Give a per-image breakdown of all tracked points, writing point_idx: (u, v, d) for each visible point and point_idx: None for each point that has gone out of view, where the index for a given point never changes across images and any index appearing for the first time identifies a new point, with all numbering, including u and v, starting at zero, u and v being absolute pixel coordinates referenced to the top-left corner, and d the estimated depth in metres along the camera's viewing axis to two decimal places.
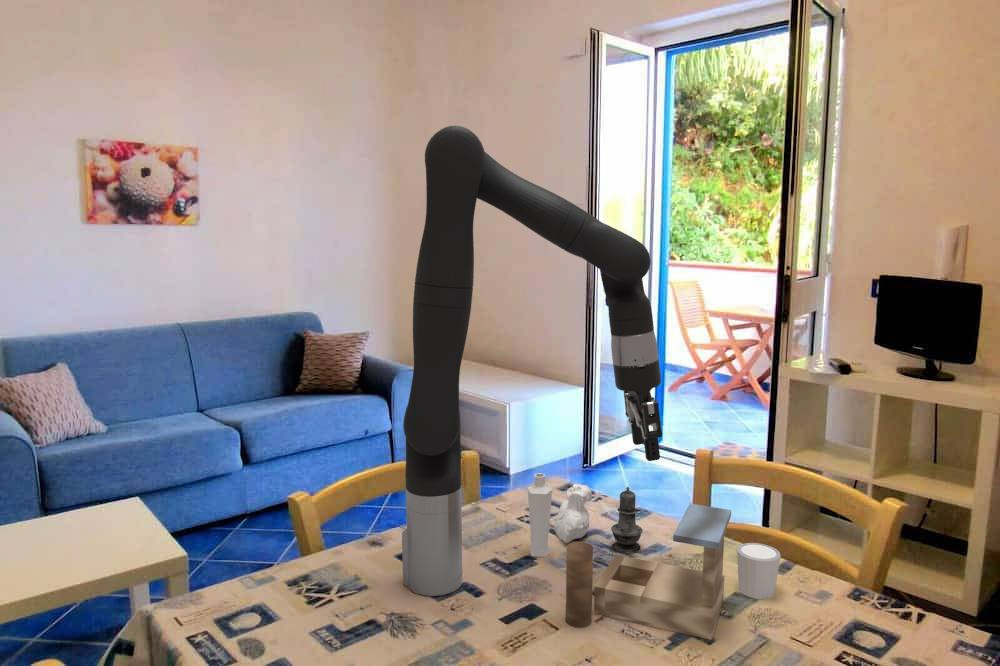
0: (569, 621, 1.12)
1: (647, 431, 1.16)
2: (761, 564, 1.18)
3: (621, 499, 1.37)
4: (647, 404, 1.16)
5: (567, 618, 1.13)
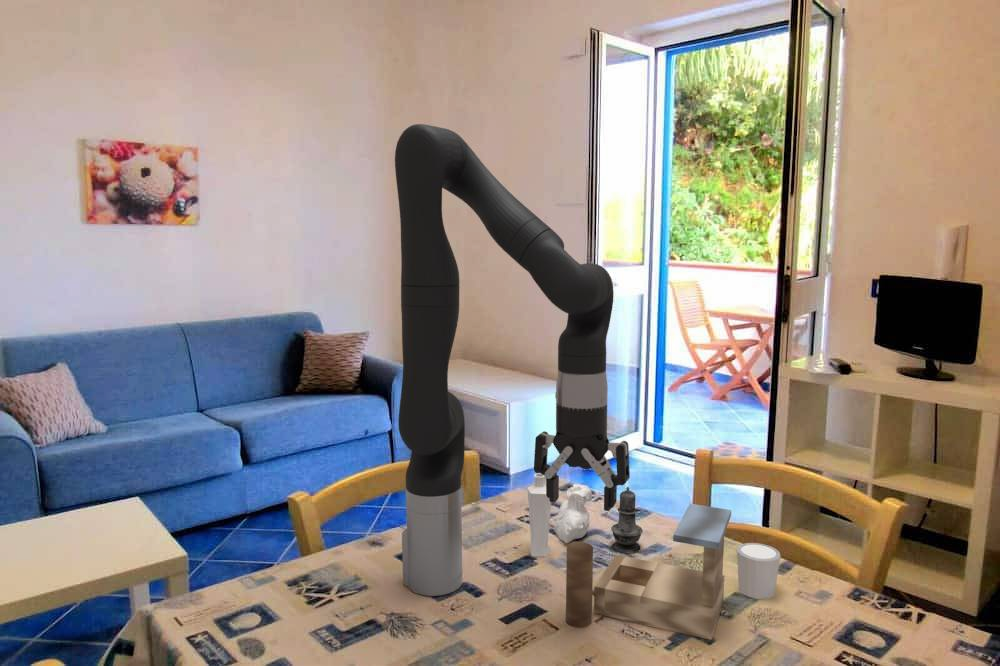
0: (569, 621, 1.12)
1: None
2: (761, 564, 1.18)
3: (621, 499, 1.37)
4: (540, 433, 1.12)
5: (567, 618, 1.13)
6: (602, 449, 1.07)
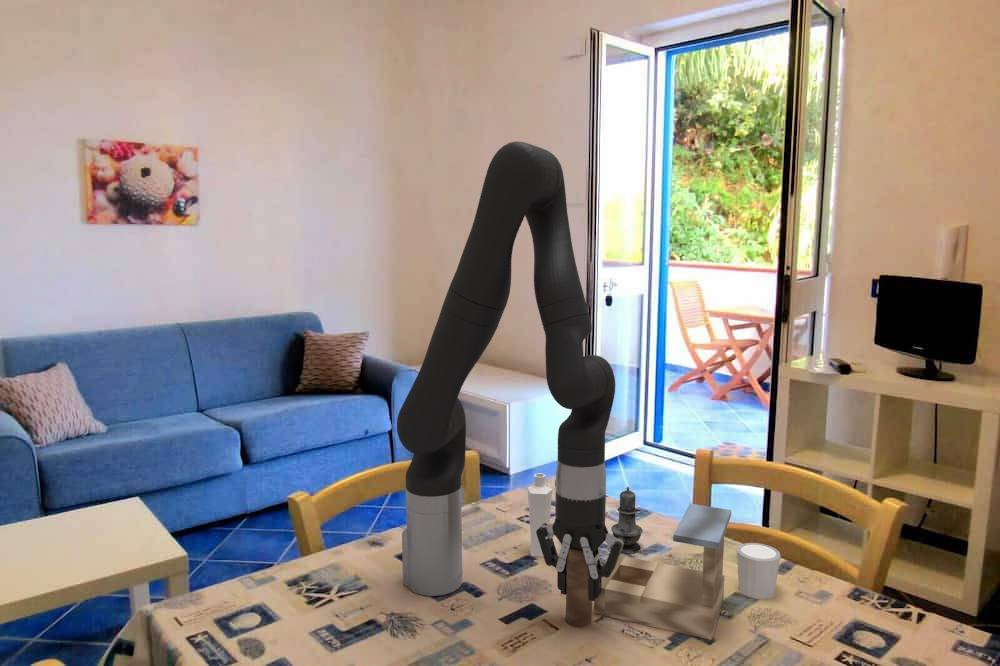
0: (569, 621, 1.12)
1: None
2: (761, 564, 1.18)
3: (621, 499, 1.37)
4: None
5: (567, 618, 1.13)
6: (600, 539, 1.09)
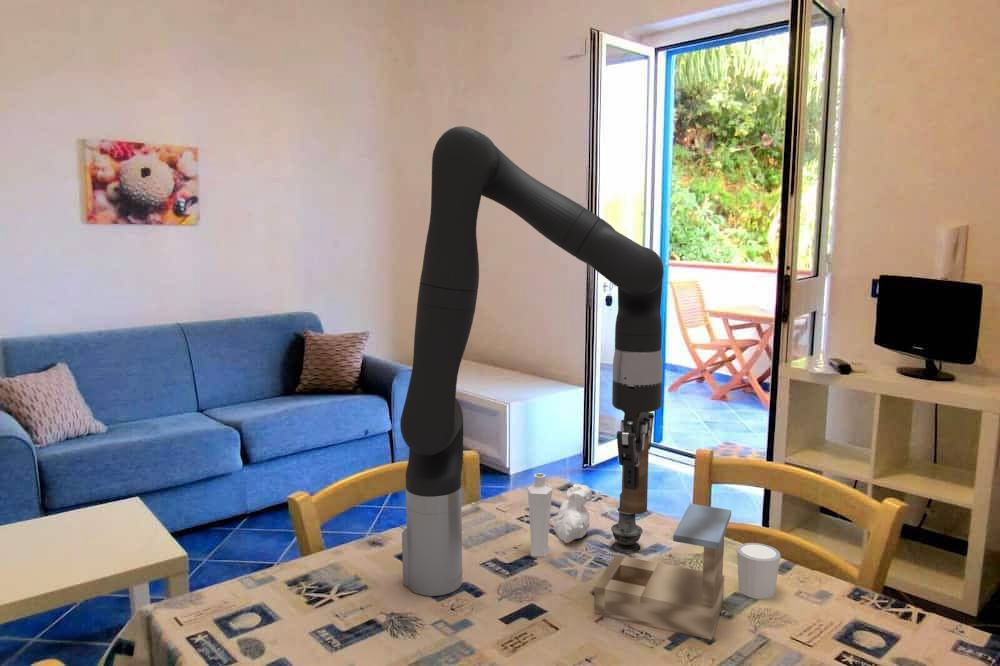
0: (644, 509, 1.15)
1: (619, 459, 1.11)
2: (761, 564, 1.18)
3: (621, 499, 1.37)
4: (621, 435, 1.09)
5: (641, 508, 1.15)
6: (648, 416, 1.17)
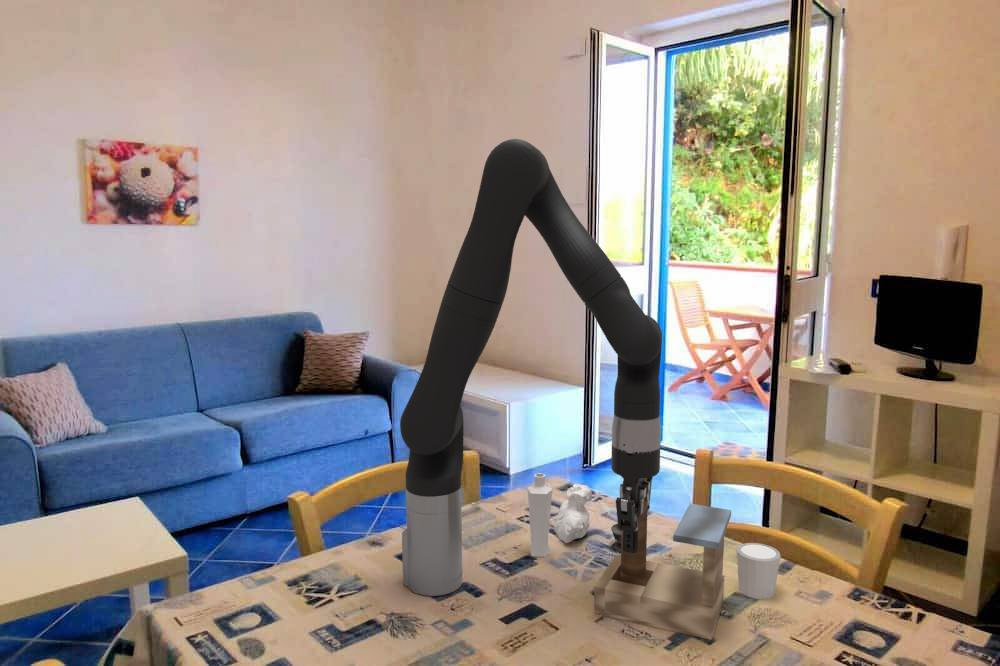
0: (642, 571, 1.17)
1: (618, 524, 1.12)
2: (761, 564, 1.18)
3: None
4: (620, 502, 1.10)
5: (640, 571, 1.16)
6: (646, 478, 1.19)
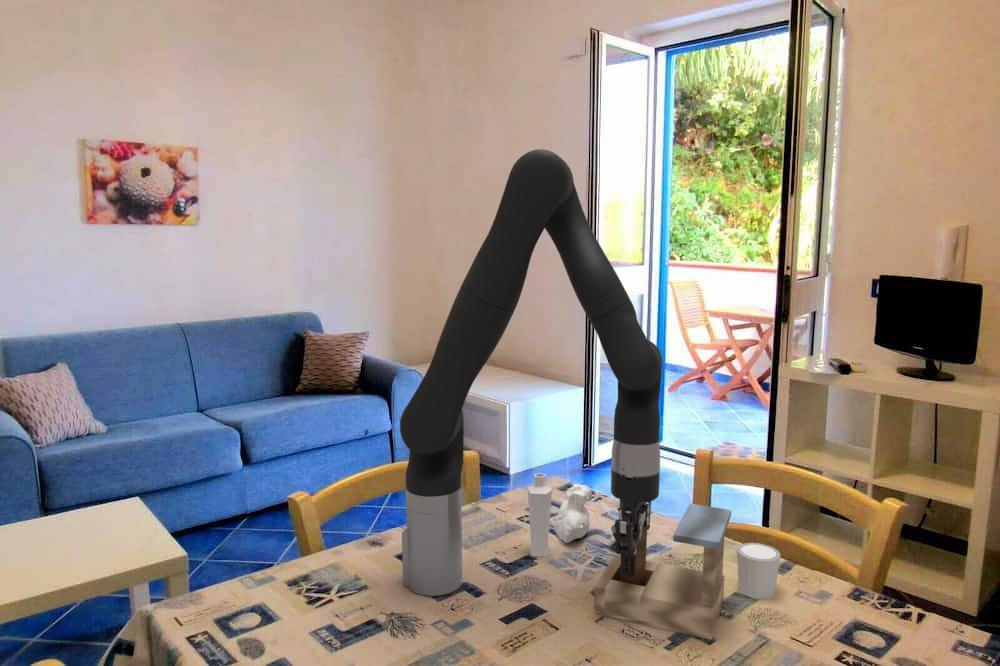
0: None
1: (616, 547, 1.12)
2: (761, 564, 1.18)
3: None
4: (619, 524, 1.11)
5: None
6: None
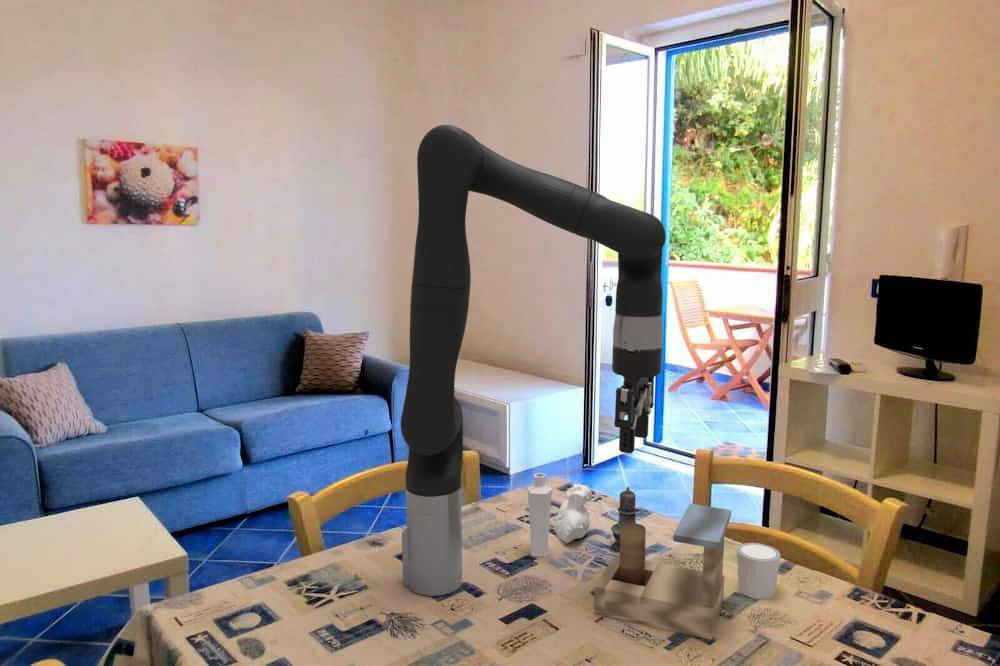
0: None
1: (615, 418, 1.09)
2: (761, 564, 1.18)
3: (621, 499, 1.37)
4: (621, 390, 1.09)
5: None
6: (648, 382, 1.17)
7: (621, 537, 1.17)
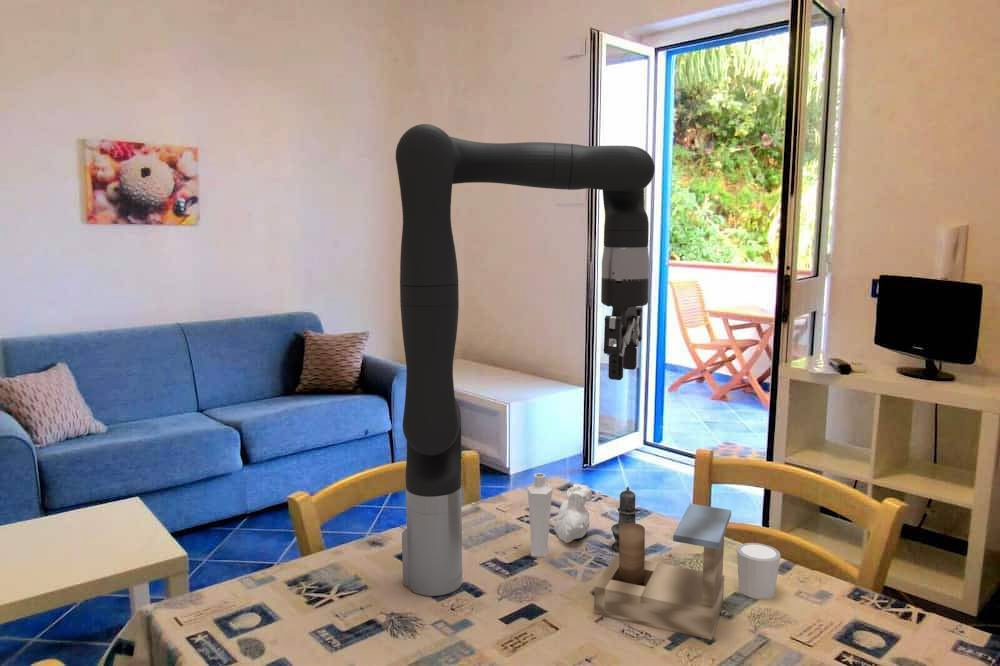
0: None
1: (604, 345, 1.14)
2: (761, 564, 1.18)
3: (621, 499, 1.37)
4: (609, 317, 1.13)
5: None
6: (636, 314, 1.22)
7: (620, 537, 1.17)
